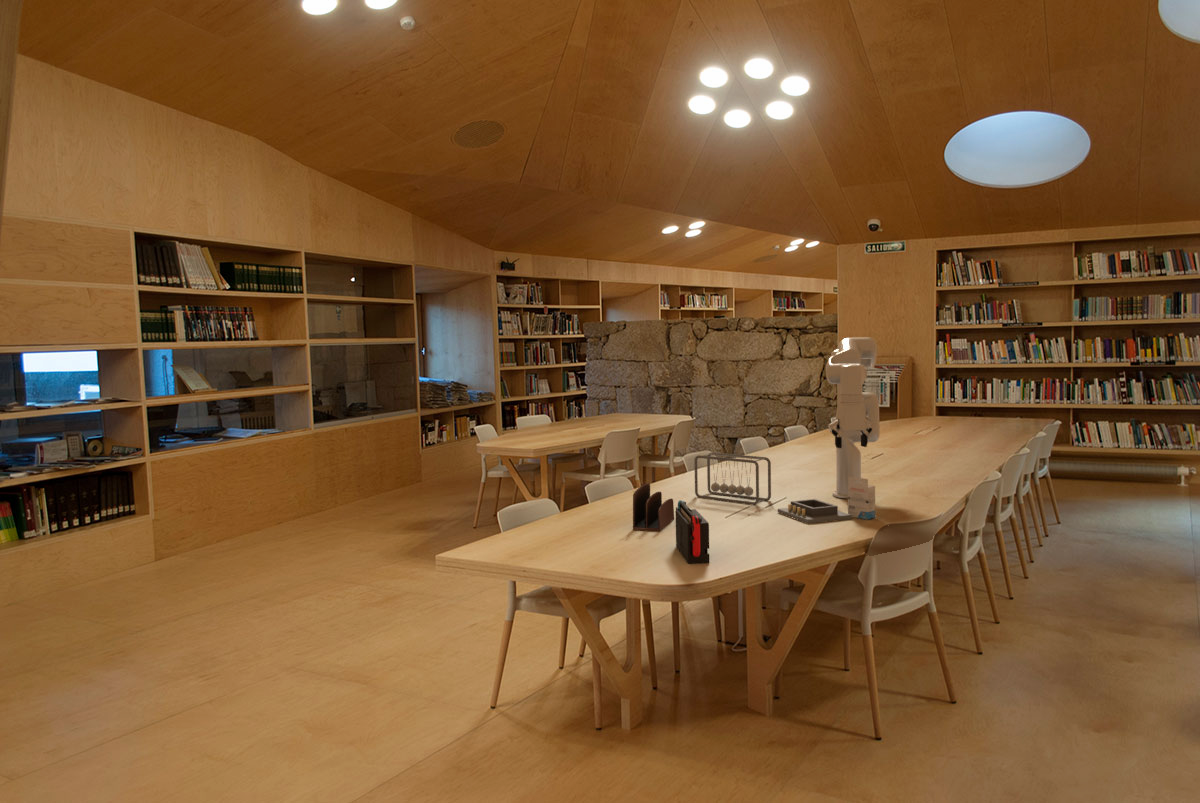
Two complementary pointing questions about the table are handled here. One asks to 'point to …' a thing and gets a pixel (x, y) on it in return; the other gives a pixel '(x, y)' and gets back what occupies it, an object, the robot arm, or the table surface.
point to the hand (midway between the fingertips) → (851, 447)
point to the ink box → (861, 498)
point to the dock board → (813, 511)
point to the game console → (691, 534)
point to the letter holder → (651, 510)
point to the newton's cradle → (731, 488)
